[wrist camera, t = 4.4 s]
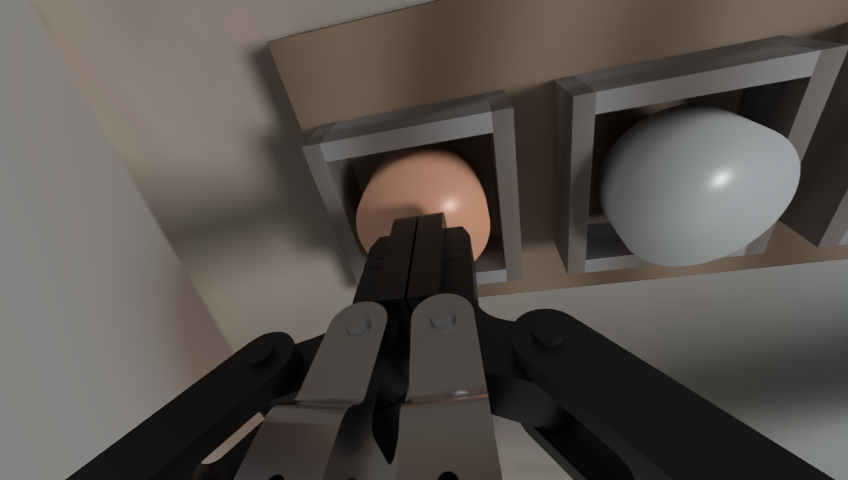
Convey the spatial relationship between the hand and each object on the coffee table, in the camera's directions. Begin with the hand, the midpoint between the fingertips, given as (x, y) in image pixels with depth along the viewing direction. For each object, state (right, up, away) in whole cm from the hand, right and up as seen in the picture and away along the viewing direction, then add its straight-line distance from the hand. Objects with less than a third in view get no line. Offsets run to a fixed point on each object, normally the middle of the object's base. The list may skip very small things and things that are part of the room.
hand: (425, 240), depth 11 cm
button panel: (+8, +4, +3) cm, 10 cm away
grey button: (+8, +2, 0) cm, 8 cm away
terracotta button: (0, +1, +2) cm, 3 cm away
